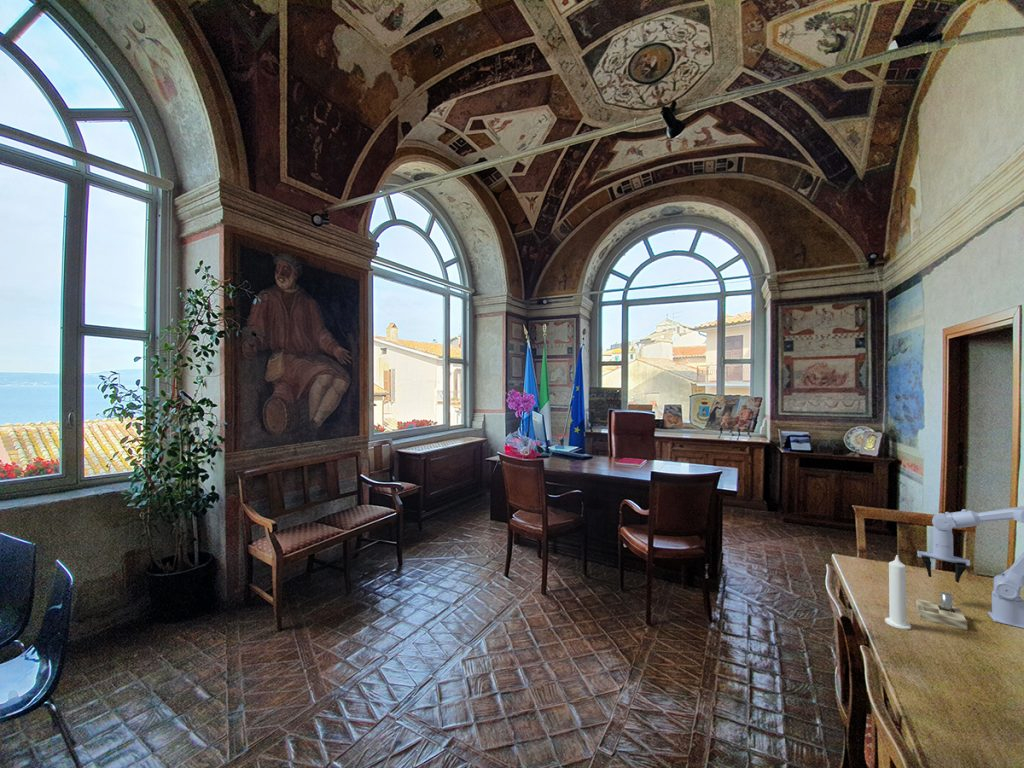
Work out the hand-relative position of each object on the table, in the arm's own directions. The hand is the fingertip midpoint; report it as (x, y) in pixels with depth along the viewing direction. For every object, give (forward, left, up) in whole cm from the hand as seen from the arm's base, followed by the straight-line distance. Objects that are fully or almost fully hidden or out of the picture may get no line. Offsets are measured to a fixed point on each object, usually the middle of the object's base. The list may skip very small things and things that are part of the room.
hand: (943, 578), depth 167 cm
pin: (+1, +13, -9) cm, 16 cm away
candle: (+16, +31, -10) cm, 36 cm away
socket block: (+3, +15, -10) cm, 18 cm away
